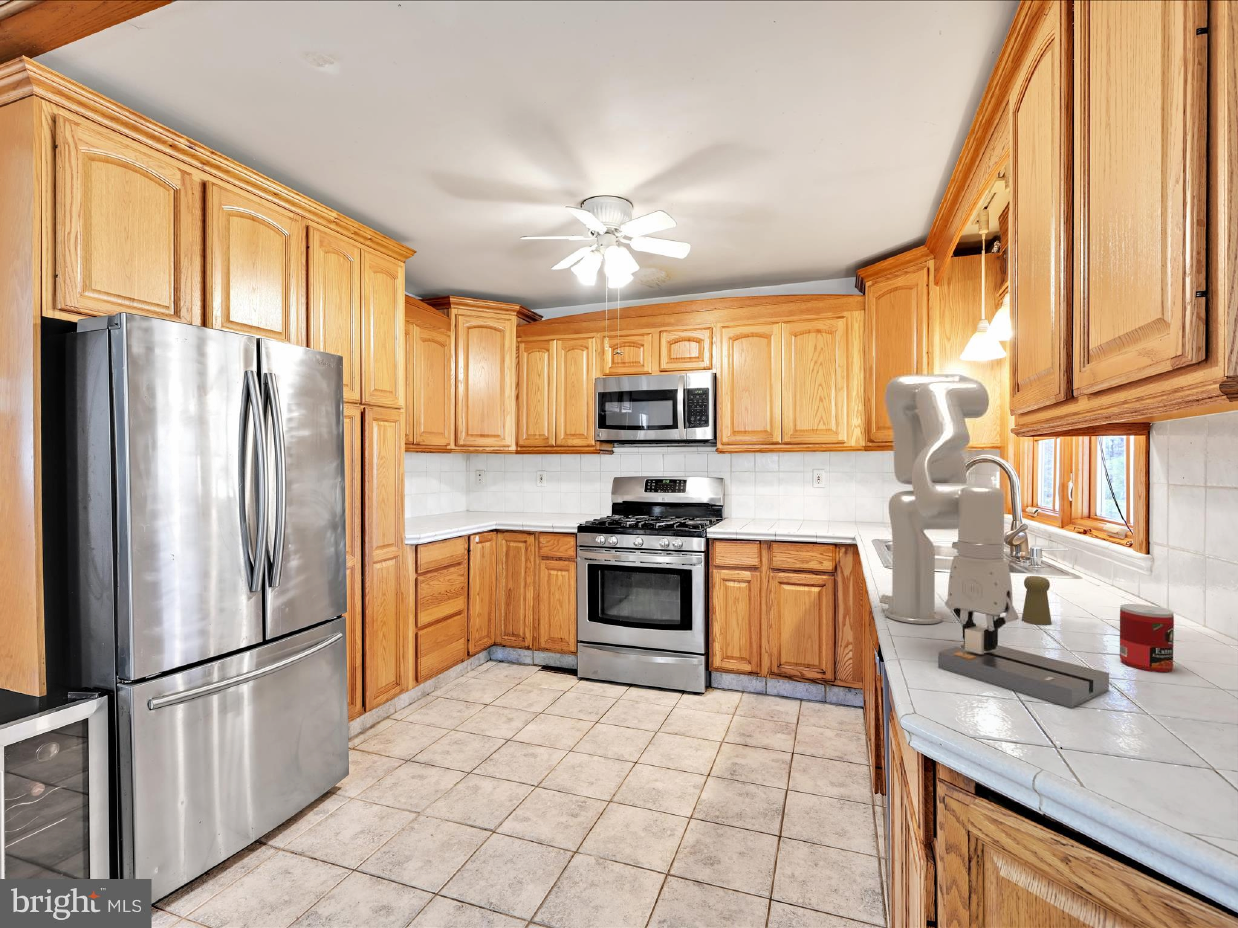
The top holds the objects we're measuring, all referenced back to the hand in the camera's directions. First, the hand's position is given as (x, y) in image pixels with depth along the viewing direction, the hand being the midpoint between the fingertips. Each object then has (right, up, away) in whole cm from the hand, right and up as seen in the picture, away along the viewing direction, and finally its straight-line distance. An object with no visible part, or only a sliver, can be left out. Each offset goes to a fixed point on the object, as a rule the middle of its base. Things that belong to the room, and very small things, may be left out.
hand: (979, 646), depth 117 cm
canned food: (+32, -4, +1) cm, 33 cm away
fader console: (+4, -4, -6) cm, 8 cm away
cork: (+32, -4, +31) cm, 45 cm away
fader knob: (0, -3, 0) cm, 3 cm away
